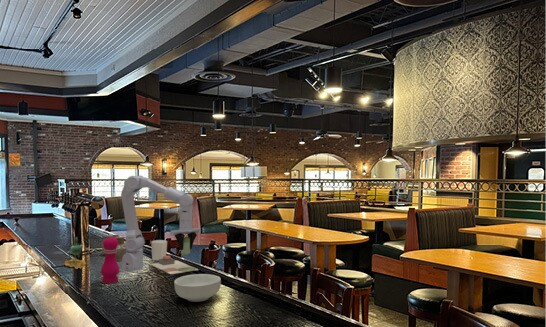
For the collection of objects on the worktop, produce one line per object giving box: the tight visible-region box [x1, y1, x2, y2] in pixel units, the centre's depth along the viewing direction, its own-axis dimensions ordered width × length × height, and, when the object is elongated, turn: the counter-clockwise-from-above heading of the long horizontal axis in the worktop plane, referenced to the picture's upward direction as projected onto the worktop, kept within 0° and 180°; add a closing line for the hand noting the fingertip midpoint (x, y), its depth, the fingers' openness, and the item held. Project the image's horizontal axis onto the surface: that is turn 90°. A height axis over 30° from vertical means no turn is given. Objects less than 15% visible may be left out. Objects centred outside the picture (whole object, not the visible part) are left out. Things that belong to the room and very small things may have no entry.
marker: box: [180, 236, 191, 255], centre depth 191 cm, size 4×4×8 cm
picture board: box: [150, 257, 199, 275], centre depth 195 cm, size 24×14×3 cm, turn 38°
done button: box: [163, 255, 171, 261], centre depth 202 cm, size 4×4×2 cm
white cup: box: [150, 239, 168, 261], centre depth 212 cm, size 8×8×10 cm
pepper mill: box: [100, 233, 120, 284], centre depth 172 cm, size 7×7×20 cm
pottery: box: [101, 234, 127, 262], centre depth 219 cm, size 11×25×12 cm, turn 35°
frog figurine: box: [64, 236, 87, 270], centre depth 200 cm, size 10×18×15 cm, turn 35°
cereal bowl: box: [173, 273, 222, 303], centre depth 151 cm, size 17×17×7 cm
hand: (185, 249), depth 191 cm, fingers closed on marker, 4 cm apart
